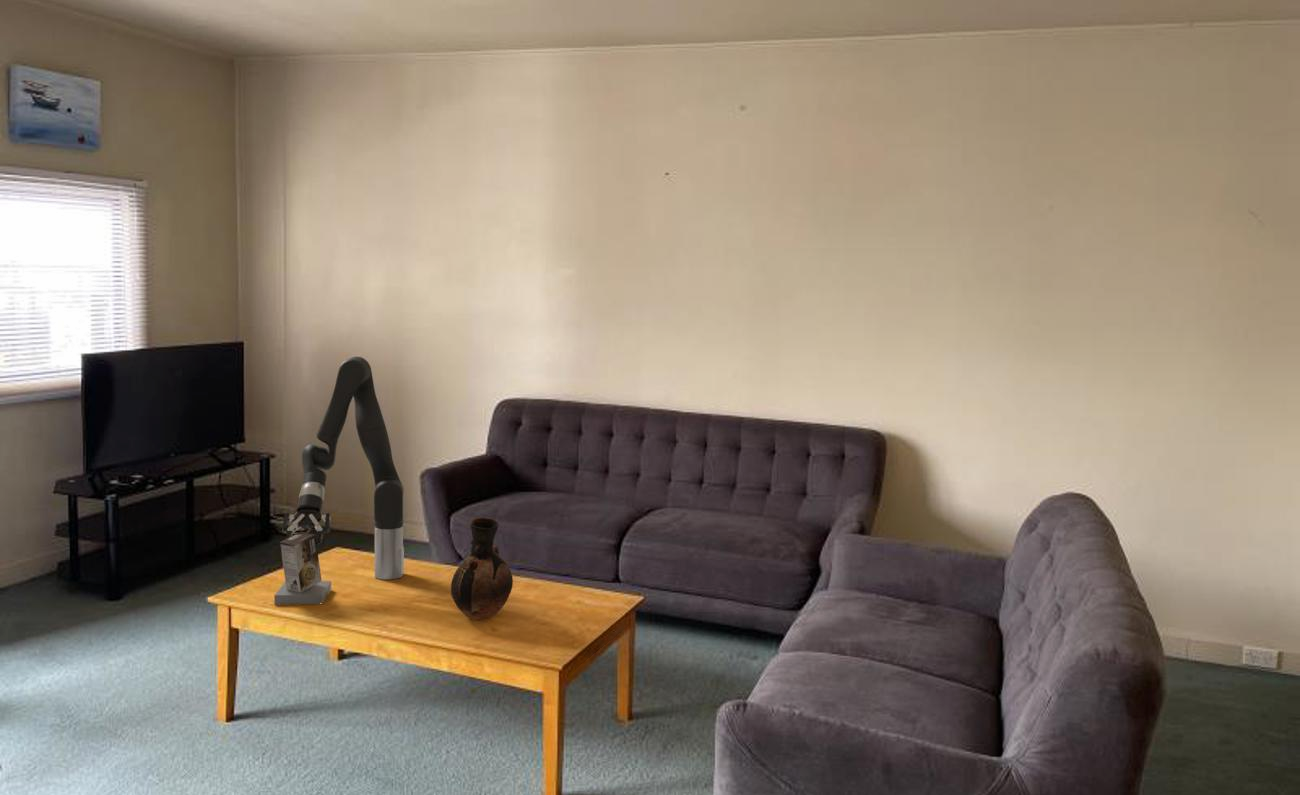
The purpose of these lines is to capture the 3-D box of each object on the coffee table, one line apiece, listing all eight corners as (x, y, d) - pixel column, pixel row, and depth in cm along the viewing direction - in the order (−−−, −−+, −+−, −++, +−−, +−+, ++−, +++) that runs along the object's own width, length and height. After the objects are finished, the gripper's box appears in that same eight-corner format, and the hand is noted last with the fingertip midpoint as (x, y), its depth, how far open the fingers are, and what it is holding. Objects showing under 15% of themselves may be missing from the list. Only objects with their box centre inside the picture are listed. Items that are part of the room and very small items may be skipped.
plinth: (331, 590, 311) (331, 581, 311) (322, 604, 298) (321, 594, 297) (285, 590, 310) (285, 581, 309) (274, 604, 296) (274, 595, 296)
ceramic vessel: (474, 601, 305) (476, 508, 302) (524, 610, 299) (526, 515, 295) (437, 622, 285) (438, 523, 282) (489, 632, 279) (490, 530, 276)
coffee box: (306, 577, 309) (300, 530, 305) (322, 581, 306) (316, 533, 302) (285, 589, 301) (278, 541, 297) (301, 593, 298) (294, 544, 294)
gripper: (286, 493, 308) (277, 537, 298) (332, 493, 310) (325, 537, 300) (290, 505, 314) (281, 549, 304) (335, 505, 316) (328, 549, 306)
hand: (303, 543), depth 302 cm, fingers open, 8 cm apart
